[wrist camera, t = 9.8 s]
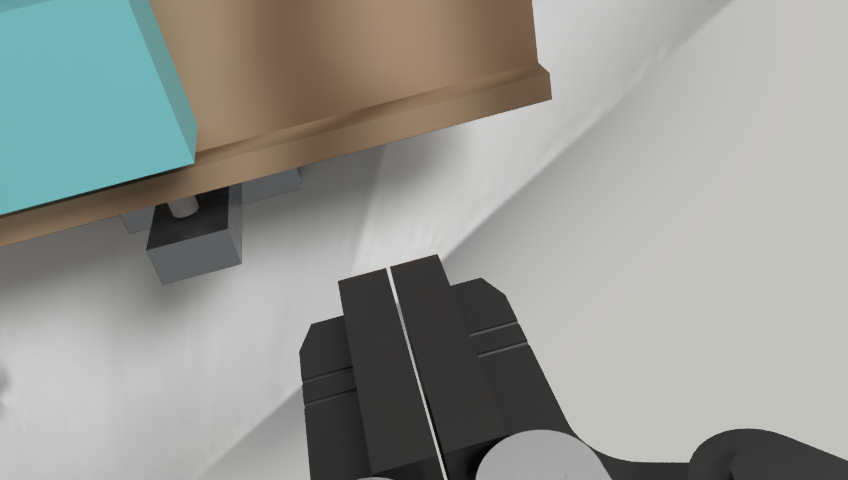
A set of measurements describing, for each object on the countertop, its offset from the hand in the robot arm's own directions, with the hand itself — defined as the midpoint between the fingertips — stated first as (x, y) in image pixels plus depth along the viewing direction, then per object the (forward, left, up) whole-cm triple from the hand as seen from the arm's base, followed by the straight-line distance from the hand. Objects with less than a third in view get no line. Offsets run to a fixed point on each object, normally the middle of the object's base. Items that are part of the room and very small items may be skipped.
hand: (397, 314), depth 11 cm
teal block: (+8, 0, -16) cm, 18 cm away
